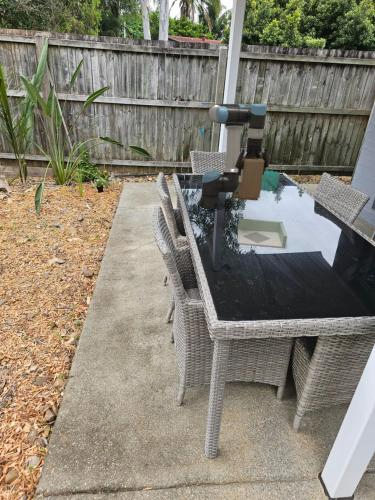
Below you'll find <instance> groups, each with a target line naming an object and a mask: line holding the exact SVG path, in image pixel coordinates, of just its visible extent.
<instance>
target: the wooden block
mask: <svg viewBox="0 0 375 500" xmlns="http://www.w3.org/2000/svg"><path fill="white" fill-rule="evenodd" d="M244 157H245V156H243V159H242V160H243V161H244V166H243V168H242V169H243V177H242V182H239V185H238V194H239V195H240V196H241V197H242V198H258V199H260V196H261V183H262V175H263V168H264V160H263V158H262V157H261V158H257V157H250V158H249V159H245V158H244ZM241 162H242V161H241Z"/></svg>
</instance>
